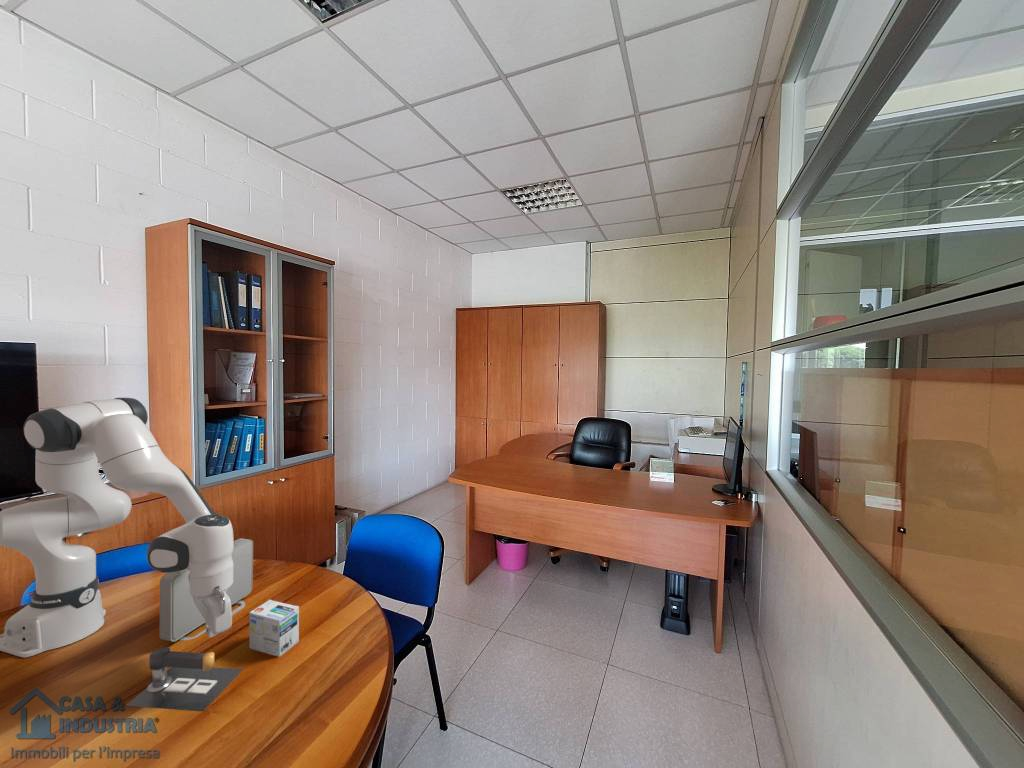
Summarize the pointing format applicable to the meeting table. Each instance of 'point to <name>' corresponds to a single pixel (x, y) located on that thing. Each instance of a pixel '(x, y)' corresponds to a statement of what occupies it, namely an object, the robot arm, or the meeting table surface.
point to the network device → (178, 602)
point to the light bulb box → (274, 627)
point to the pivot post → (159, 680)
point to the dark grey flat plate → (187, 699)
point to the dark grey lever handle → (181, 659)
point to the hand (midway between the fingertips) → (211, 633)
